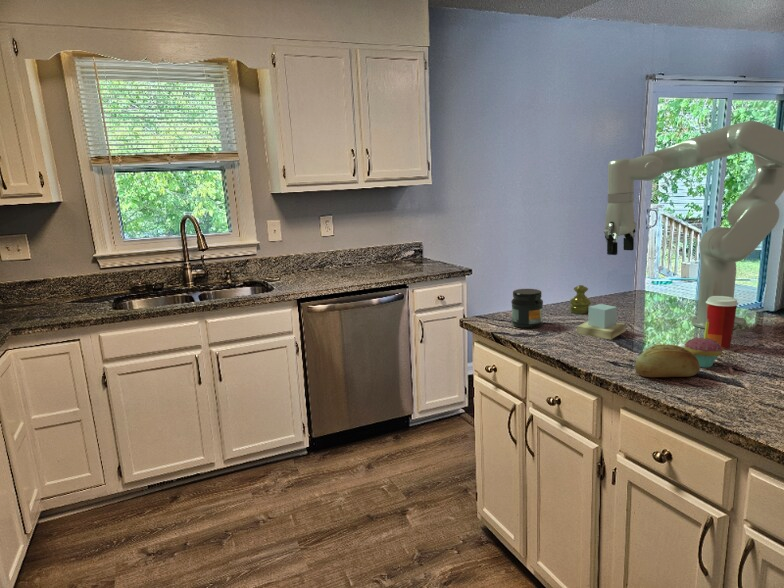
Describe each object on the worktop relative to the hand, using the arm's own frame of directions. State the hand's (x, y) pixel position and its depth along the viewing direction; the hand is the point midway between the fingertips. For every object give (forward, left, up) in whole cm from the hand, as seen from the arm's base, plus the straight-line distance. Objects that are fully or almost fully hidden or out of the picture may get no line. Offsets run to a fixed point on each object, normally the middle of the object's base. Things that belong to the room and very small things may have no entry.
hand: (620, 252), depth 166 cm
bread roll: (-33, +31, -25) cm, 51 cm away
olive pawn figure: (+19, -7, -25) cm, 32 cm away
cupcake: (-35, +17, -25) cm, 46 cm away
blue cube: (-1, +10, -22) cm, 24 cm away
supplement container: (+21, +20, -25) cm, 38 cm away
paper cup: (-31, -1, -25) cm, 40 cm away
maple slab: (-1, +10, -25) cm, 27 cm away
